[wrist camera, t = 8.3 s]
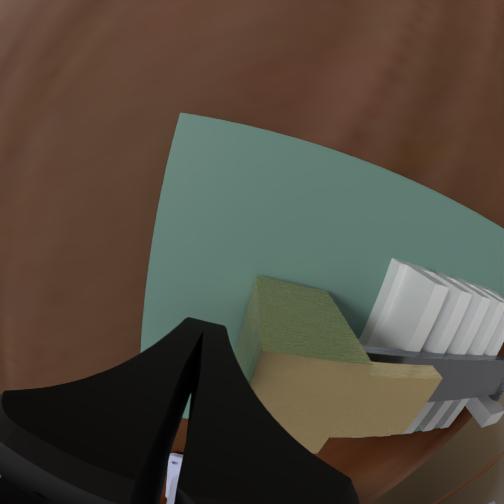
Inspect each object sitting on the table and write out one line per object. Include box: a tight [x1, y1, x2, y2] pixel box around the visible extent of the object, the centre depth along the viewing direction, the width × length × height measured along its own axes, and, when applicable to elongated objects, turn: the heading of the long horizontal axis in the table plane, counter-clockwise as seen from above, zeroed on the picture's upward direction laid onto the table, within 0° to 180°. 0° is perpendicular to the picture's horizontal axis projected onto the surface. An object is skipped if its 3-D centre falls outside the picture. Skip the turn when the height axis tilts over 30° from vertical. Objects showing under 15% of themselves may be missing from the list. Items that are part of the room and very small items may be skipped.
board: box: [141, 113, 504, 438], centre depth 11 cm, size 15×23×6 cm, turn 76°
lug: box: [235, 275, 442, 453], centre depth 9 cm, size 4×6×5 cm, turn 76°
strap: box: [362, 345, 504, 402], centre depth 10 cm, size 3×12×1 cm, turn 76°
